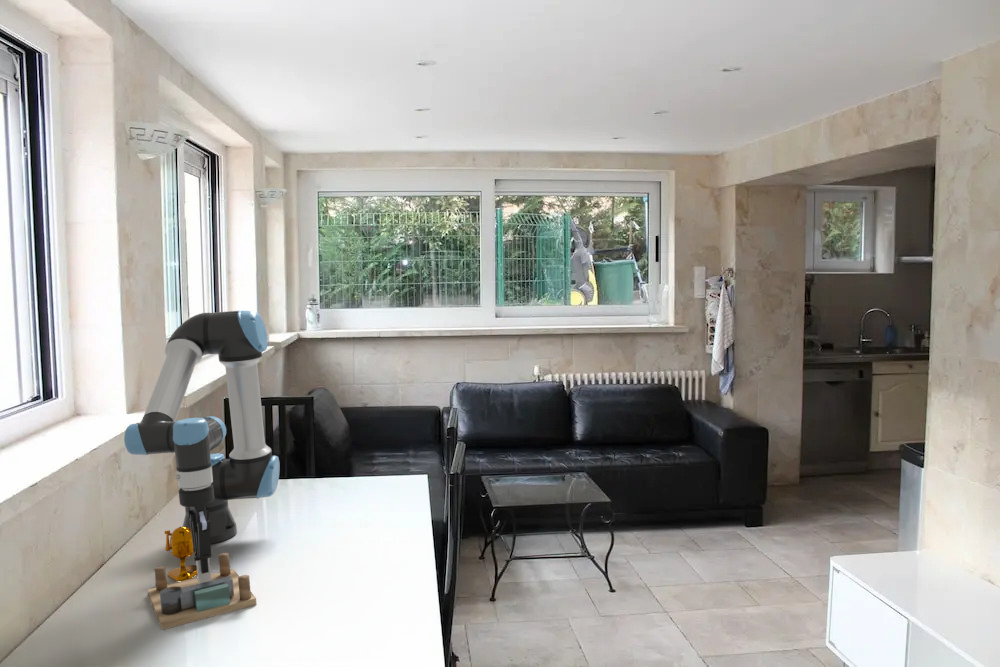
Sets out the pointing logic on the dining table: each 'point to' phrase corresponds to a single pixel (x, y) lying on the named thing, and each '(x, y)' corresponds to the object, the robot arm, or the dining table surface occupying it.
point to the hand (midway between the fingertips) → (205, 584)
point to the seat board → (191, 611)
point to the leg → (187, 595)
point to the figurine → (181, 553)
